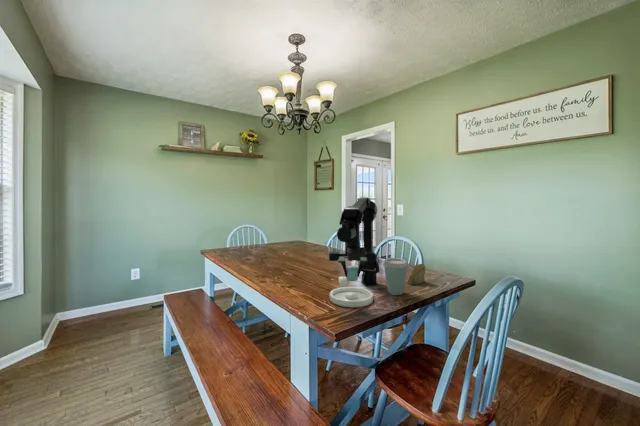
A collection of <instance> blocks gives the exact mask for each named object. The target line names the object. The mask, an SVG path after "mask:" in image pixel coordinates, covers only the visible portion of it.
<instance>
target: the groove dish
mask: <svg viewBox="0 0 640 426" xmlns="http://www.w3.org/2000/svg"><path fill="white" fill-rule="evenodd" d="M329 300H330V302H331V303H332V304H334V305H336V306H339V307H344V308H363V307H366V306H367V307H368V306H369V305H371V304H373V300H374V294H373V292H372V291H370V289H365V288H363V287H355V286H348V287H341V288H339V287H337V288H333V289H332V290H331V291H329Z"/></svg>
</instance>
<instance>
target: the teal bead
mask: <svg viewBox="0 0 640 426" xmlns="http://www.w3.org/2000/svg"><path fill="white" fill-rule="evenodd" d="M346 270H347V280H348V282H356V281H359V279H358V278H359V277H358V266H354V265H352V266H351V265H349V266H348V265H347V266H346Z"/></svg>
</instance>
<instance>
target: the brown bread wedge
mask: <svg viewBox="0 0 640 426" xmlns="http://www.w3.org/2000/svg"><path fill="white" fill-rule="evenodd" d="M412 269H413V270H412V272H411V274H410V275H409V278H408V279H407V284H408V285H409V286H410V285H416V284H417V283H419V284H423V283H425V280H426V279H425V274H426V265H425V263H419V264H417V265H415V266H413V268H412Z"/></svg>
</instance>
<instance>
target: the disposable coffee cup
mask: <svg viewBox="0 0 640 426" xmlns="http://www.w3.org/2000/svg"><path fill="white" fill-rule="evenodd" d="M382 266H383V267H384V269H383V270H384V273H385V280H386V286H387V291H388V294H390V295H393V296H399V295H403V294H404V291H405V284H406V276H407V271H408V270H407V269H408V263H407V261H406V260H404V259H403V258H398V257H389V258H386V259H384V261H383V264H382Z"/></svg>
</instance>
